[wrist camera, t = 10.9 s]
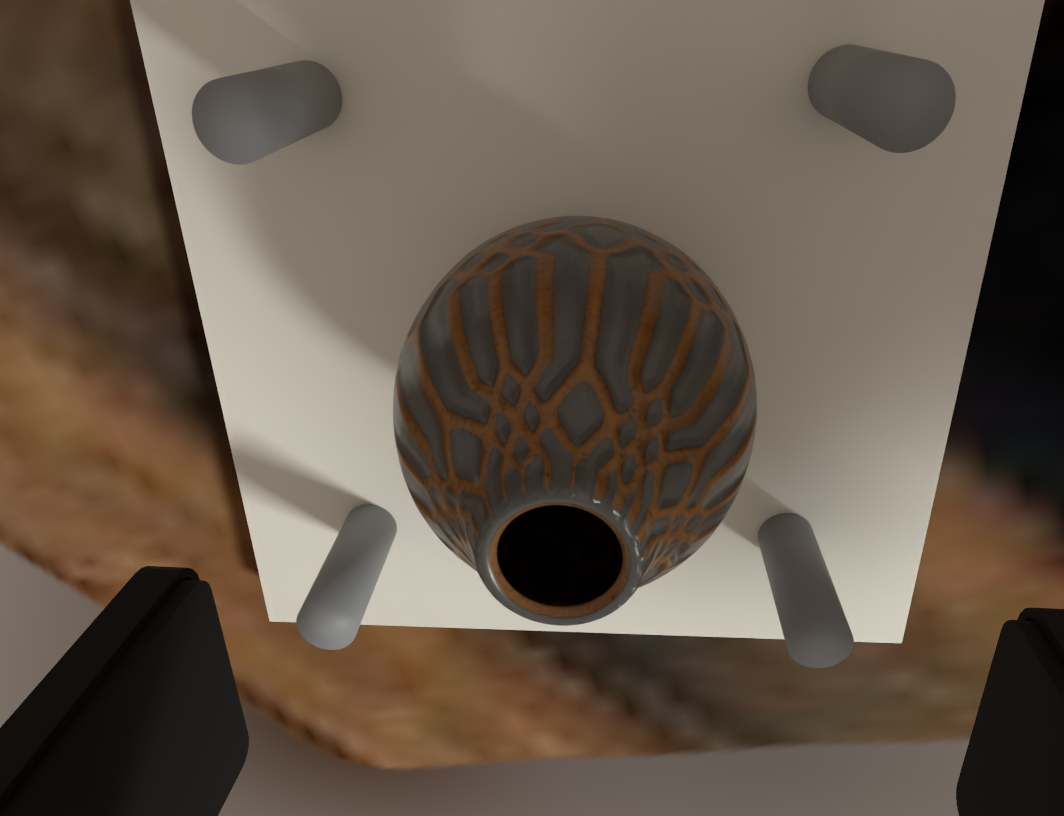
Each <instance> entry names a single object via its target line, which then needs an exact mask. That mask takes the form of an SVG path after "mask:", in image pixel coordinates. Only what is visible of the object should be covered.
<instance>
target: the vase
mask: <svg viewBox="0 0 1064 816" xmlns="http://www.w3.org/2000/svg"><path fill="white" fill-rule="evenodd" d="M756 421H757V391H756V380H755V374H754V368H753V364H752V361H751V357H750V353H749V350H748V346H747V343H746V340H745V338H744V335H743V332H742V330H741V328H740V326H739V324H738V322H737V319H736V317H735V315H734V313H733V311H732V309H731V308H730V306H729V304H728V303H727V301H726V299H725V298H724V296H723V295H722V293H721V292H720V291H719V289H718V288H717V286H716V285H715V284H714V282H713V281H712V280H711V279H710V277H709V276H708V275H707V274H706V273H705V271H704V270H703V269H702V268H701V267H700V266H699V265H698V264H697V263H696V262H695V261H693V260H692V259H691V258H690V257H689V256H688V255H686V254H685V253H684V252H683V251H681V250H680V249H678V248H677V247H676V246H674V245H673V244H671V243H669V242H668V241H666V240H664V239H663V238H661V237H659V236H657V235H655V234H653V233H651V232H649V231H646V230H644V229H642V228H639V227H637V226H634V225H631V224H628V223H625V222H621V221H617V220H613V219H608V218H602V217H595V216H560V217H552V218H546V219H541V220H537V221H533V222H529V223H526V224H523V225H520V226H517V227H514V228H511V229H509V230H507V231H504V232H502V233H500V234H498V235H496V236H494V237H492V238H490V239H488V240H487V241H485V242H484V243H482V244H481V245H479V246H477V247H476V248H475V249H473V250H472V251H471V252H469V253H468V254H467V255H466V256H465V257H463V258H462V259H461V260H460V261H459V262H458V263H457V264H456V265H455V266H454V267H453V268H452V269H451V270H450V271H449V272H448V273H447V274H446V275H445V276H444V277H443V278H442V279H441V281H440V282H439V283H438V284H437V286H436V287H435V288H434V290H433V291H432V292H431V294H430V295H429V296H428V298H427V299H426V301H425V302H424V304H423V306H422V307H421V309H420V310H419V312H418V314H417V316H416V318H415V320H414V322H413V324H412V326H411V328H410V330H409V332H408V335H407V337H406V340H405V342H404V345H403V348H402V351H401V354H400V358H399V363H398V367H397V372H396V377H395V384H394V396H393V425H394V435H395V443H396V449H397V454H398V458H399V462H400V467H401V470H402V473H403V477H404V480H405V482H406V485H407V487H408V490H409V492H410V494H411V497H412V499H413V501H414V503H415V505H416V506H417V508H418V510H419V512H420V514H421V515H422V516H423V518H424V519H425V521H426V522H427V524H428V525H429V527H430V528H431V529H432V531H433V532H434V533H435V534H436V536H437V537H438V538H439V539H440V540H441V541H442V543H443V544H444V545H445V546H446V547H447V548H448V549H449V550H450V551H452V552H453V553H454V554H455V555H456V556H457V557H458V558H460V559H461V560H462V561H463V562H465V563H466V564H467V565H468V566H470V567H471V568H472V569H474V570H475V571H477V572H478V574H479V576H480V578H481V580H482V582H483V583H484V585H485V586H486V588H487V589H488V591H489V592H490V593H491V594H492V596H493V597H494V598H495V599H496V600H497V601H499V602H500V603H501V604H502V605H503V606H505V607H506V608H508V609H509V610H510V611H512V612H514V613H516V614H517V615H520V616H522V617H524V618H526V619H529V620H532V621H535V622H539V623H543V624H549V625H559V626H569V625H579V624H584V623H589V622H592V621H595V620H598V619H601V618H603V617H605V616H607V615H609V614H611V613H613V612H614V611H616V610H617V609H618V608H620V607H621V606H622V605H623V604H625V603H626V602H627V601H628V600H629V599H630V598H631V596H632V595H633V594H634V593H635V591H636V590H637V589H638V588H640V587H642V586H644V585H646V584H649V583H651V582H653V581H655V580H656V579H658V578H660V577H662V576H664V575H666V574H667V573H669V572H670V571H672V570H674V569H675V568H676V567H678V566H679V565H680V564H682V563H683V562H684V561H686V560H687V559H688V558H689V557H690V556H691V555H693V554H694V553H695V552H696V551H697V550H698V549H699V548H700V547H701V546H702V545H703V544H704V543H705V542H706V541H707V540H708V539H709V538H710V536H711V535H712V534H713V533H714V532H715V530H716V529H717V527H718V526H719V525H720V523H721V522H722V520H723V519H724V517H725V516H726V514H727V513H728V511H729V509H730V508H731V506H732V504H733V502H734V500H735V498H736V496H737V494H738V491H739V489H740V487H741V485H742V482H743V479H744V477H745V474H746V471H747V467H748V464H749V460H750V456H751V453H752V448H753V443H754V437H755V431H756Z"/></svg>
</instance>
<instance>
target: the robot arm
mask: <svg viewBox="0 0 1064 816" xmlns="http://www.w3.org/2000/svg"><path fill="white" fill-rule="evenodd" d="M248 746H249V737H248V731H247V727H246V723H245V719H244V715H243V711H242V708H241V703H240V699H239V696H238V692H237V688H236V684H235V680H234V676H233V672H232V668H231V664H230V660H229V656H228V652H227V649H226V645H225V641H224V637H223V633H222V629H221V625H220V621H219V617H218V613H217V609H216V605H215V601H214V598H213V594H212V590H211V587H210V585H209V584H208V583H207V582H206V581H202V580H200V579H199V577H198V574H197V573H196V572H195V571H194V570H193V569H190V568H177V567H156V566H146V567H143V568H141V569H140V570H139V571H137V572H136V573H135V574H134V575H133V577H132V578H131V579H130V580H129V581H128V582H127V583H126V585H125V586H124V587H123V588H122V589H121V590H120V591H119V593H118V594H117V595H116V596H115V597H114V598H113V599H112V601H111V602H110V603H109V604H108V605H107V606H106V608H105V609H104V610H103V611H102V612H101V613H100V614H99V616H98V617H97V618H96V619H95V620H94V621H93V622H92V624H91V625H90V626H89V627H88V628H87V629H86V630H85V632H84V633H83V634H82V635H81V636H80V637H79V639H78V640H77V641H76V642H75V643H74V644H73V645H72V646H71V648H70V649H69V650H68V651H67V652H66V653H65V654H64V656H63V657H62V658H61V659H60V660H59V661H58V663H57V664H56V665H55V666H54V667H53V668H52V669H51V671H50V672H49V673H48V674H47V675H46V676H45V678H44V679H43V680H42V681H41V682H40V683H39V684H38V686H37V687H36V688H35V689H34V690H33V691H32V692H31V693H30V695H29V696H28V697H27V698H26V699H25V700H24V701H23V703H22V704H21V705H20V706H19V707H18V709H17V710H16V711H15V712H14V713H13V714H12V715H11V717H10V718H9V719H8V720H7V721H6V722H5V723H4V724H3V726H2V727H1V728H0V816H218V814H219V812H220V810H221V808H222V806H223V805H224V803H225V801H226V799H227V797H228V795H229V793H230V791H231V789H232V787H233V785H234V783H235V781H236V779H237V777H238V775H239V773H240V771H241V769H242V767H243V765H244V763H245V760H246V757H247V753H248ZM956 790H957V791H956V799H957V807H958V812H959V816H1064V609H1048V608H1026V609H1024V610H1023V611H1022V612H1021V613H1020V615H1019V617H1018V620H1008V621H1006V622H1005V623H1004V625H1003V627H1002V629H1001V633H1000V636H999V640H998V643H997V647H996V650H995V654H994V657H993V661H992V664H991V668H990V671H989V675H988V678H987V682H986V685H985V689H984V692H983V696H982V699H981V703H980V706H979V710H978V713H977V717H976V720H975V724H974V727H973V731H972V734H971V738H970V741H969V745H968V748H967V752H966V755H965V759H964V762H963V766H962V769H961V773H960V776H959V780H958V783H957V789H956Z"/></svg>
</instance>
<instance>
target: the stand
mask: <svg viewBox="0 0 1064 816" xmlns="http://www.w3.org/2000/svg"><path fill="white" fill-rule="evenodd" d="M1044 2H1045V0H130V3H131V7H132V12H133V16H134V21H135V25H136V29H137V34H138V38H139V43H140V47H141V52H142V56H143V61H144V65H145V69H146V74H147V78H148V83H149V87H150V92H151V96H152V101H153V105H154V109H155V114H156V118H157V123H158V127H159V132H160V136H161V141H162V145H163V149H164V154H165V158H166V163H167V167H168V172H169V176H170V181H171V185H172V189H173V194H174V198H175V203H176V207H177V212H178V216H179V221H180V225H181V229H182V234H183V238H184V243H185V247H186V252H187V256H188V260H189V265H190V269H191V274H192V278H193V283H194V287H195V292H196V296H197V300H198V305H199V309H200V314H201V318H202V323H203V327H204V332H205V336H206V340H207V345H208V349H209V354H210V358H211V363H212V367H213V372H214V376H215V380H216V385H217V389H218V394H219V398H220V403H221V407H222V412H223V416H224V420H225V425H226V429H227V434H228V438H229V443H230V447H231V452H232V456H233V460H234V465H235V469H236V474H237V478H238V483H239V487H240V492H241V496H242V500H243V505H244V509H245V514H246V518H247V523H248V527H249V532H250V536H251V540H252V545H253V549H254V554H255V558H256V563H257V567H258V572H259V576H260V580H261V585H262V589H263V594H264V598H265V603H266V607H267V612H268V616H269V620H270V621H273V622H296V625H297V629H298V631H299V633H300V634H301V636H302V637H303V638H304V639H305V640H306V641H308V642H309V643H310V644H312V645H314V646H316V647H319V648H322V649H327V650H337V649H342V648H344V647H346V646H348V645H349V644H351V643H352V642H353V640H354V638H355V636H356V634H357V631H358V629H359V626H360V625H389V626H418V627H447V628H476V629H505V630H534V631H563V632H592V633H621V634H649V635H678V636H707V637H736V638H765V639H785V642H786V646H787V650H788V653H789V655H790V656H791V657H792V659H793V660H795V661H796V662H797V663H799V664H801V665H803V666H806V667H811V668H825V667H830V666H833V665H835V664H838V663H839V662H841V661H843V660H844V659H845V658H846V657H847V656H848V655H849V654H850V652H851V650H852V648H853V644H854V642H881V643H902V640H903V635H904V631H905V626H906V622H907V617H908V613H909V608H910V604H911V599H912V595H913V590H914V586H915V581H916V577H917V572H918V568H919V563H920V559H921V554H922V550H923V545H924V541H925V536H926V532H927V527H928V523H929V518H930V514H931V509H932V505H933V500H934V496H935V491H936V487H937V482H938V478H939V473H940V469H941V464H942V460H943V455H944V451H945V446H946V442H947V437H948V433H949V428H950V424H951V419H952V415H953V411H954V406H955V402H956V397H957V393H958V388H959V384H960V379H961V375H962V370H963V366H964V361H965V357H966V352H967V348H968V343H969V339H970V334H971V330H972V325H973V321H974V316H975V312H976V307H977V303H978V298H979V294H980V289H981V285H982V280H983V276H984V271H985V267H986V262H987V258H988V253H989V249H990V244H991V240H992V235H993V231H994V226H995V222H996V217H997V213H998V208H999V204H1000V199H1001V195H1002V190H1003V186H1004V181H1005V177H1006V172H1007V168H1008V163H1009V159H1010V154H1011V150H1012V145H1013V141H1014V136H1015V132H1016V127H1017V123H1018V118H1019V114H1020V109H1021V105H1022V100H1023V96H1024V91H1025V87H1026V82H1027V78H1028V73H1029V69H1030V64H1031V60H1032V55H1033V51H1034V47H1035V42H1036V38H1037V33H1038V29H1039V24H1040V20H1041V15H1042V11H1043V6H1044ZM560 216H595V217H602V218H608V219H613V220H617V221H621V222H625V223H628V224H631V225H634V226H637V227H639V228H642V229H644V230H646V231H649V232H651V233H653V234H655V235H657V236H659V237H661V238H663V239H664V240H666V241H668V242H669V243H671V244H673V245H674V246H676V247H677V248H678V249H680V250H681V251H683V252H684V253H685V254H686V255H688V256H689V257H690V258H691V259H692V260H693V261H695V262H696V263H697V264H698V265H699V266H700V267H701V268H702V269H703V270H704V271H705V273H706V274H707V275H708V276H709V277H710V279H711V280H712V281H713V282H714V284H715V285H716V286H717V288H718V289H719V291H720V292H721V293H722V295H723V296H724V298H725V299H726V301H727V303H728V304H729V306H730V308H731V309H732V311H733V313H734V315H735V317H736V319H737V322H738V324H739V326H740V328H741V330H742V332H743V335H744V338H745V340H746V343H747V346H748V350H749V353H750V357H751V361H752V364H753V368H754V374H755V380H756V391H757V421H756V431H755V437H754V443H753V448H752V453H751V456H750V460H749V464H748V467H747V471H746V474H745V477H744V479H743V482H742V485H741V487H740V489H739V491H738V494H737V496H736V498H735V500H734V502H733V504H732V506H731V508H730V509H729V511H728V513H727V514H726V516H725V517H724V519H723V520H722V522H721V523H720V525H719V526H718V527H717V529H716V530H715V532H714V533H713V534H712V535H711V536H710V538H709V539H708V540H707V541H706V542H705V543H704V544H703V545H702V546H701V547H700V548H699V549H698V550H697V551H696V552H695V553H694V554H693V555H691V556H690V557H689V558H688V559H687V560H686V561H684V562H683V563H682V564H680V565H679V566H678V567H676V568H675V569H674V570H672V571H670V572H669V573H667V574H666V575H664V576H662V577H660V578H658V579H656V580H655V581H653V582H651V583H649V584H646V585H644V586H642V587H640V588H638V589H637V590H636V591H635V593H634V594H633V595H632V596H631V598H630V599H629V600H628V601H627V602H626V603H625V604H623V605H622V606H621V607H620V608H618V609H617V610H616V611H614V612H613V613H611V614H609V615H607V616H605V617H603V618H601V619H598V620H595V621H592V622H589V623H584V624H579V625H569V626H559V625H549V624H543V623H539V622H535V621H532V620H529V619H526V618H524V617H522V616H520V615H517V614H516V613H514V612H512V611H510V610H509V609H508V608H506V607H505V606H503V605H502V604H501V603H500V602H499V601H497V600H496V599H495V598H494V597H493V596H492V594H491V593H490V592H489V591H488V589H487V588H486V586H485V585H484V583H483V582H482V580H481V578H480V576H479V574H478V572H477V571H475V570H474V569H472V568H471V567H470V566H468V565H467V564H466V563H465V562H463V561H462V560H461V559H460V558H458V557H457V556H456V555H455V554H454V553H453V552H452V551H450V550H449V549H448V548H447V547H446V546H445V545H444V544H443V543H442V541H441V540H440V539H439V538H438V537H437V536H436V534H435V533H434V532H433V531H432V529H431V528H430V527H429V525H428V524H427V522H426V521H425V519H424V518H423V516H422V515H421V514H420V512H419V510H418V508H417V506H416V505H415V503H414V501H413V499H412V497H411V494H410V492H409V490H408V487H407V485H406V482H405V480H404V477H403V473H402V470H401V467H400V462H399V458H398V454H397V449H396V443H395V435H394V425H393V396H394V384H395V377H396V372H397V367H398V363H399V358H400V354H401V351H402V348H403V345H404V342H405V340H406V337H407V335H408V332H409V330H410V328H411V326H412V324H413V322H414V320H415V318H416V316H417V314H418V312H419V310H420V309H421V307H422V306H423V304H424V302H425V301H426V299H427V298H428V296H429V295H430V294H431V292H432V291H433V290H434V288H435V287H436V286H437V284H438V283H439V282H440V281H441V279H442V278H443V277H444V276H445V275H446V274H447V273H448V272H449V271H450V270H451V269H452V268H453V267H454V266H455V265H456V264H457V263H458V262H459V261H460V260H461V259H462V258H463V257H465V256H466V255H467V254H468V253H469V252H471V251H472V250H473V249H475V248H476V247H477V246H479V245H481V244H482V243H484V242H485V241H487V240H488V239H490V238H492V237H494V236H496V235H498V234H500V233H502V232H504V231H507V230H509V229H511V228H514V227H517V226H520V225H523V224H526V223H529V222H533V221H537V220H541V219H546V218H552V217H560Z"/></svg>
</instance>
